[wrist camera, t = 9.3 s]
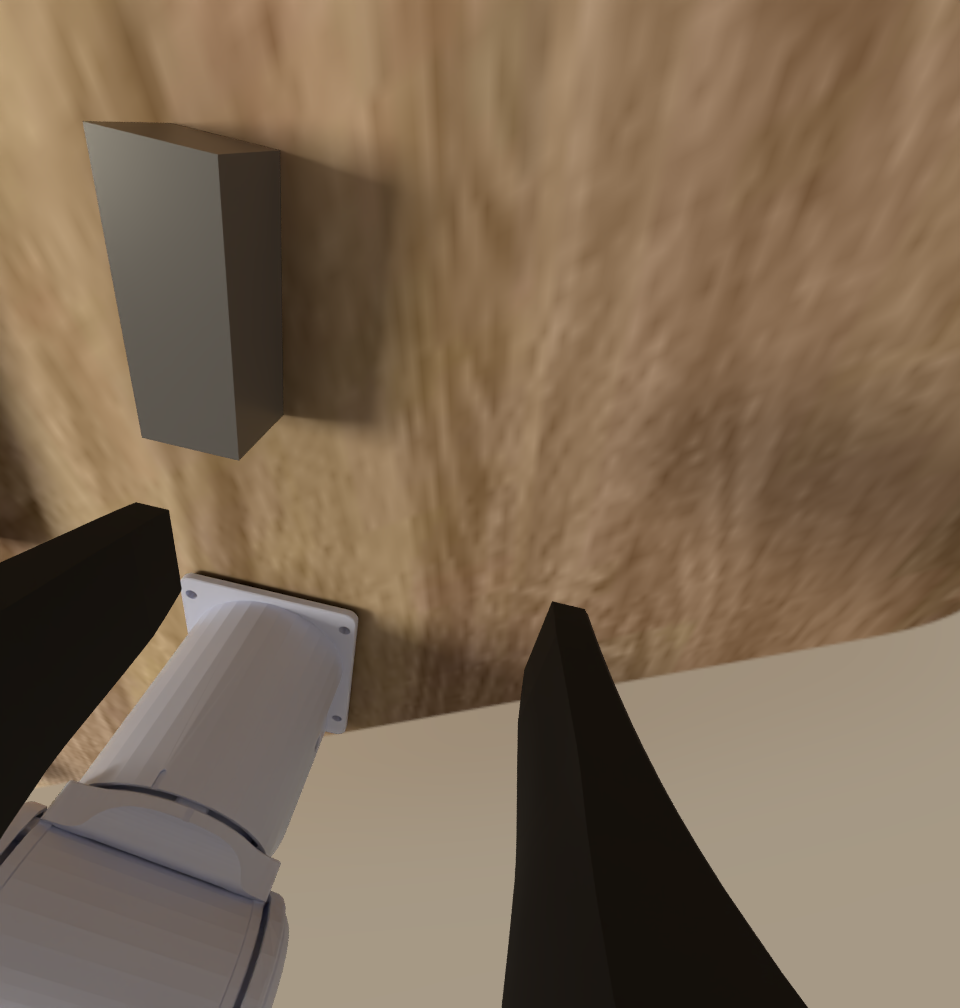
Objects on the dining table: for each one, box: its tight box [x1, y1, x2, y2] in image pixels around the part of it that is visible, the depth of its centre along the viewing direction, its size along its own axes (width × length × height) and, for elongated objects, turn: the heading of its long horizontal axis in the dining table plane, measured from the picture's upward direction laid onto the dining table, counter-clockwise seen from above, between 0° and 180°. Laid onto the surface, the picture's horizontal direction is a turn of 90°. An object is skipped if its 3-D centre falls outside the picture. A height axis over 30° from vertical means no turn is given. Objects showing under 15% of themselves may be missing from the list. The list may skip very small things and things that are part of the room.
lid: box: [83, 121, 283, 460], centre depth 16 cm, size 15×15×4 cm
